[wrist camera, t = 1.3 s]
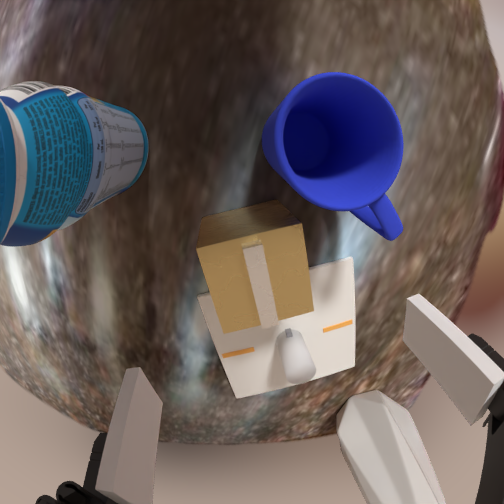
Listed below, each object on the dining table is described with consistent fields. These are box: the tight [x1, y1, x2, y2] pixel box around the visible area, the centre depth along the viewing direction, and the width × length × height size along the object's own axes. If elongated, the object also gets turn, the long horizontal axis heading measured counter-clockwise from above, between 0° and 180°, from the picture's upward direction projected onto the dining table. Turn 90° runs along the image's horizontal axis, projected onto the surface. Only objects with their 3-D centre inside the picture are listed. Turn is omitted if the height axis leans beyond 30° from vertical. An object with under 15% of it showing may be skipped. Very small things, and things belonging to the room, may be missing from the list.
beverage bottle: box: [0, 81, 149, 246], centre depth 12 cm, size 8×8×20 cm
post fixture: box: [197, 256, 355, 398], centre depth 28 cm, size 16×16×6 cm
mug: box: [262, 72, 403, 241], centre depth 20 cm, size 8×12×10 cm
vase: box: [336, 390, 446, 504], centre depth 23 cm, size 12×12×33 cm
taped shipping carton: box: [196, 200, 314, 334], centre depth 22 cm, size 7×7×9 cm
